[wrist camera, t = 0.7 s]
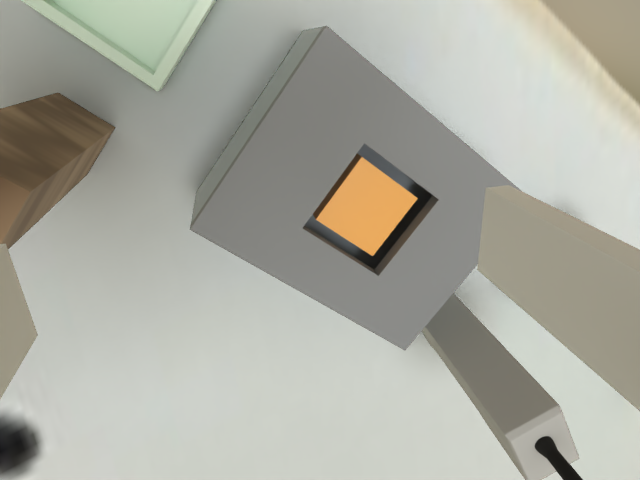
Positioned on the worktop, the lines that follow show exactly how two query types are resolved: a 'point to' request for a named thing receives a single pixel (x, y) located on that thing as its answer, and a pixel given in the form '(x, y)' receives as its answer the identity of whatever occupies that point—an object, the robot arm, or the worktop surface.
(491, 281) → the robot arm
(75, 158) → the brown wooden block
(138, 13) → the green square tray
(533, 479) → the grey rectangular bar
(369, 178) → the button
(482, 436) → the worktop surface
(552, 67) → the worktop surface
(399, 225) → the grey box with hole
